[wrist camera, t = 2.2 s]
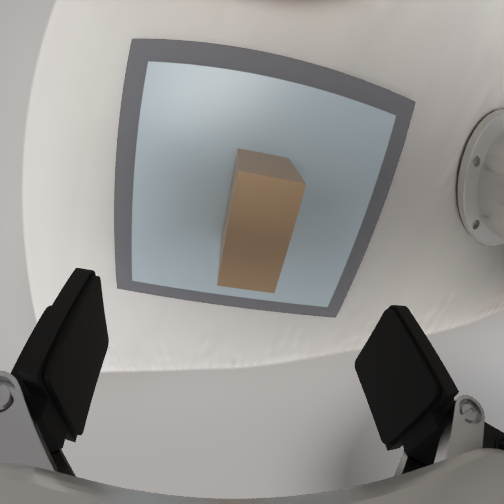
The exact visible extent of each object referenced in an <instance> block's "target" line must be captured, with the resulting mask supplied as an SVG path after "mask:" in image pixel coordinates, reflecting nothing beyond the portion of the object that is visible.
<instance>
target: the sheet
mask: <svg viewBox="0 0 504 504" xmlns="http://www.w3.org/2000/svg"><path fill="white" fill-rule="evenodd" d="M395 118H396V115H393V114H391V113H388V112H386V111H383V110H380V109H378V108H375V107H372V106H370V105H367V104H364V103H361V102H358V101H355V100H352V99H349V98H346V97H343V96H340V95H337V94H334V93H330V92H327V91H324V90H320V89H317V88H313V87H309V86H306V85H302V84H298V83H294V82H290V81H286V80H281V79H277V78H272V77H268V76H263V75H258V74H253V73H247V72H242V71H236V70H229V69H223V68H216V67H208V66H200V65H191V64H180V63H167V62H150V61H148V65H147V71H146V77H145V83H144V89H143V95H142V102H141V110H140V117H139V126H138V134H137V144H136V155H135V168H134V183H133V203H132V281H137V282H143V283H149V284H155V285H161V286H167V287H174V288H180V289H187V290H193V291H200V292H207V293H214V294H221V295H228V296H236V297H243V298H251V299H259V300H267V301H275V302H284V303H293V304H302V305H311V306H321V307H328V305H329V303H330V301H331V298H332V296H333V294H334V291H335V289H336V287H337V284H338V282H339V280H340V277H341V275H342V272H343V270H344V268H345V265H346V263H347V260H348V258H349V255H350V253H351V250H352V248H353V245H354V242H355V240H356V237H357V235H358V232H359V229H360V227H361V224H362V221H363V218H364V216H365V213H366V210H367V207H368V204H369V202H370V199H371V196H372V193H373V190H374V187H375V184H376V181H377V178H378V175H379V172H380V169H381V166H382V162H383V159H384V156H385V153H386V149H387V146H388V143H389V139H390V136H391V132H392V129H393V125H394V122H395Z"/></svg>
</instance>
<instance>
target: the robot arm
mask: <svg viewBox="0 0 504 504" xmlns="http://www.w3.org/2000/svg"><path fill="white" fill-rule="evenodd" d="M457 188H458V206H459V212H460V216H461V219H462V222H463V224H464V226H465V228H466V229H467V231H468V232H469V233H470V234H471V235H472V236H473V237H474V238H475V239H476V240H477V241H479V242H480V243H481V244H483V245H487V246H498V245H502V244H504V109H499V110H496V111H494V112H492V113H490V114H488V115H487V116H486V117H485V118H484V119H483V120H482V121H481V122H480V123H479V125H478V126H477V127H476V129H475V130H474V132H473V133H472V136H471V138H470V140H469V142H468V144H467V146H466V149H465V152H464V155H463V158H462V162H461V166H460V171H459V178H458V187H457ZM108 341H109V339H108V332H107V326H106V320H105V313H104V305H103V297H102V289H101V280H100V277H99V276H96V275H95V272H94V271H93V270H87V269H81V268H76V269H75V270H74V271H73V273H72V275H71V276H70V278H69V279H68V281H67V282H66V284H65V285H64V287H63V288H62V290H61V292H60V293H59V295H58V296H57V298H56V300H55V301H54V303H53V305H52V306H49V307H47V308H46V310H45V311H44V313H43V314H42V316H41V318H40V319H39V321H38V323H37V325H36V327H35V328H34V330H33V332H32V333H31V335H30V337H29V339H28V341H27V343H26V344H25V346H24V348H23V350H22V352H21V354H20V356H19V358H18V360H17V362H16V364H15V366H14V368H13V370H12V372H11V374H9V373H7V372H5V371H0V504H504V433H503V432H501V431H500V430H498V429H496V428H494V427H493V426H491V425H489V424H487V423H486V422H484V420H485V416H484V411H483V408H482V407H481V405H480V403H479V402H478V401H477V400H476V399H474V398H473V397H471V396H468V395H462V396H460V397H459V398H458V399H457V400H456V401H454V397H455V396H456V395H457V394H458V392H459V391H458V389H457V388H456V386H455V384H454V382H453V380H452V378H451V377H450V375H449V373H448V372H447V370H446V368H445V366H444V365H443V363H442V361H441V360H440V358H439V356H438V355H437V353H436V351H435V350H434V348H433V347H432V345H431V343H430V341H429V340H428V338H427V337H426V335H425V333H424V332H423V330H422V329H421V327H420V326H419V324H418V323H417V321H416V320H415V318H414V316H413V315H412V313H411V312H410V310H409V309H408V308H407V307H406V306H398V305H392V306H390V307H389V308H388V309H386V310H385V311H384V313H383V315H382V316H381V318H380V320H379V322H378V324H377V325H376V327H375V329H374V331H373V332H372V334H371V336H370V337H369V339H368V341H367V342H366V344H365V346H364V347H363V349H362V351H361V352H360V354H359V356H358V357H357V359H356V361H355V369H356V372H357V375H358V377H359V380H360V383H361V385H362V388H363V390H364V393H365V396H366V398H367V401H368V404H369V407H370V410H371V412H372V415H373V418H374V421H375V423H376V426H377V429H378V432H379V435H380V438H381V440H382V442H383V443H384V444H385V445H386V447H387V450H393V449H397V448H400V447H401V446H402V445H403V447H404V451H403V454H402V457H401V460H400V462H399V465H398V467H397V470H396V472H395V475H394V477H391V478H387V479H384V480H380V481H376V482H372V483H368V484H364V485H359V486H354V487H350V488H345V489H339V490H333V491H328V492H321V493H315V494H307V495H298V496H288V497H275V498H256V499H214V498H195V497H183V496H173V495H165V494H157V493H150V492H144V491H137V490H132V489H126V488H121V487H116V486H111V485H107V484H102V483H98V482H94V481H90V480H86V479H82V478H78V477H76V476H75V474H74V472H73V470H72V468H71V467H70V465H69V463H68V461H67V459H66V457H65V456H64V454H63V452H62V450H61V448H63V444H64V441H65V439H67V440H70V441H73V442H75V441H76V437H77V435H82V433H83V430H84V427H85V423H86V419H87V415H88V411H89V407H90V404H91V400H92V397H93V393H94V390H95V386H96V383H97V380H98V377H99V373H100V370H101V367H102V364H103V361H104V358H105V355H106V352H107V348H108Z"/></svg>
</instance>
